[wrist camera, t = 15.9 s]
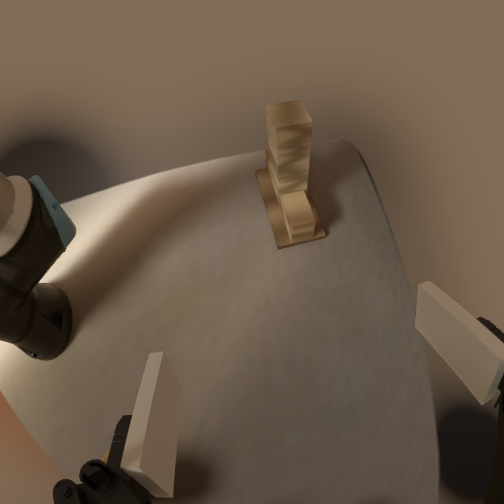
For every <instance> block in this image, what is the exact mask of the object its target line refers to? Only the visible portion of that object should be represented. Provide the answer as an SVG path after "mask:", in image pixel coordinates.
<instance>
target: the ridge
mask: <svg viewBox="0 0 504 504" xmlns="http://www.w3.org/2000/svg"><path fill="white" fill-rule="evenodd" d="M265 150H266V161H267V168H265V169H260V170H256V171H255V172H256V177H257V180H258V183H259V186H260V190H261V193H262V196H263V200H264V203H265V206H266V210H267V213H268V217H269V220H270V223H271V227H272V230H273V234H274V237H275V241H276V244H277V247H278V249H282V248H286V247H290V246H294V245H298V244H302V243H306V242H310V241H314V240H318V239H323V238H325V236H326V235H325V232H324V229H323V227H322V224H321V221H320V219H319V216H318V213H317V211H316V208H315V206H314V203H313V200H312V198H311V195H310V193H309V190H308V188H307V190H303V191H298V192H293V193H289V194H285V195H280V196H278V193H277V190H276V187H275V184H274V181H273V178H272V175H271V166H270V153H269V147H267V148H265Z"/></svg>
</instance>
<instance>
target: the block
mask: <svg viewBox="0 0 504 504" xmlns="http://www.w3.org/2000/svg"><path fill="white" fill-rule="evenodd" d="M266 114H267V127H268V139H269V153H270V166H271V175H272V178H273V181H274V184H275V187H276V190H277V193H278V196H280V195H285V194H289V193H293V192H298V191H303V190H307V183H308V173H309V162H310V150H311V138H312V124H313V121H312V119H311V118H310V116H309V114H308V112H307V111H306V109H305V107H304V105H303V104H302V102H301V100H296V101H289V102H283V103H277V104H272V105H267V106H266Z"/></svg>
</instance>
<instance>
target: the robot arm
mask: <svg viewBox="0 0 504 504" xmlns="http://www.w3.org/2000/svg"><path fill="white" fill-rule="evenodd" d="M75 235H76V227H75V225H74V223H73V222H72V220H71V219H70V218H69V217H68V215H67V214H66V213H65V211H64V210H63V209H62V207H61V206H60V205H59V204H58V202H57V201H56V200H55V198H54V197H53V195H52V194H51V192H50V191H49V190H48V188H47V187H46V185H45V184H44V183H43V181H42V180H41V178H40V177H39V176H36V175H35V176H33V177H32V178H30V179H29V180H28V181H26V179H24V178H22V177H21V176H10V177H7V178H6V177H5V176H4V175H3V174H1V173H0V340H1V341H5V342H9V343H12V344H14V345H15V346H17V347H18V348H19V349H21V350H22V351H23V352H25V353H26V354H27V355H29V356H30V357H32V358H35V359H39V360H44V361H47V360H51V359H54V358H55V357H57V356H58V355H59V354H60V353H61V352H62V351H63V349H64V348H65V346H66V344H67V342H68V339H69V336H70V333H71V327H72V312H71V307H70V303H69V301H68V299H67V297H66V295H65V294H64V293H63V292H62V291H61V290H60V289H59V288H57V287H55V286H53V285H51V284H48V283H38V282H39V281H40V280H41V279H42V277H43V276H44V275H45V274H46V272H47V271H48V270H49V269H50V267H51V266H52V265H53V264H54V263H55V262H56V260H57V259H58V258H59V257H60V256H61V254H62V253H63V252H65V251H66V247H67V246H68V245H69V244H70V242H71V241H72V240H73V238H74V237H75ZM415 327H416V329H417V330H418V331H419V332H420V333H421V334H422V335H423V336H424V337H425V338H426V340H427V341H428V342H429V343H430V344H431V345H432V346H433V347H434V348H435V350H436V351H437V352H438V353H439V354H440V355H441V357H442V358H443V359H444V360H445V361H446V362H447V364H448V365H449V366H450V367H451V368H452V369H453V371H454V372H455V373H456V374H457V375H458V377H459V378H460V379H461V380H462V381H463V383H464V384H465V385H466V386H467V387H468V389H469V390H470V391H471V392H472V393H473V395H474V396H475V397H476V399H477V400H478V401H479V402H480V404H481V405H483V404H484V403H486V402H487V401H488V400H490V399H491V398H493V397H494V395H495V392H496V390H497V388H498V389H499V390H500V391H501V393H500V396H499V397H498V399H497V401H496V403H495V406H494V408H496V407H497V405H498V403H499V412H498V425H497V436H496V444H495V451H494V457H493V463H492V469H491V474H490V479H489V483H488V488H487V492H486V496H485V500H484V504H504V333H502V332H501V330H499V329H498V328H496V326H495V325H494V324H492V323H491V322H490V321H489V320H486V319H484V318H482V317H479V318H477V319H476V318H474V317H473V316H472V315H471V314H470V313H468V312H467V311H466V310H465V309H464V308H462V307H461V306H460V305H459V304H458V303H457V302H455V301H454V300H453V299H451V297H449V296H448V295H447V294H446V293H444V292H443V291H442V290H441V289H439V288H438V287H436V285H434V284H433V283H432V282H430V281H427V282H424V283H422V284H419V285H418V294H417V309H416V321H415ZM182 395H183V388H182V386H181V384H180V382H179V380H178V378H177V377H176V375H175V373H174V371H173V369H172V367H171V365H170V363H169V361H168V359H167V357H166V355H165V353H164V351H162V352H156V353H150V354H149V357H148V361H147V364H146V367H145V371H144V374H143V378H142V381H141V385H140V389H139V392H138V396H137V400H136V403H135V407H134V411H133V415H124V416H123V417H122V418H121V419H120V421H119V422H118V424H117V426H116V430H115V433H114V434H115V435H114V437H113V440H112V441H113V443H112V444H111V448H110V452H109V456H108V460H107V463H104V462H103V461H101V460H91V461H88V462H87V463H85V464H84V465H83V466H82V468H81V470H80V474H79V477H80V481H81V482H83V484H75V483H74V482H73V481H72V480H69V479H63V480H60V481H59V482H57V484H56V485H55V486H54V489H53V499H54V504H153V503H152V502H151V501H150V500H149V499H148V498H149V492H150V493H151V494H152V495H153V496H155V497H163V498H173V489H174V475H175V463H176V452H177V441H178V431H179V421H180V412H181V403H182Z"/></svg>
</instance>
